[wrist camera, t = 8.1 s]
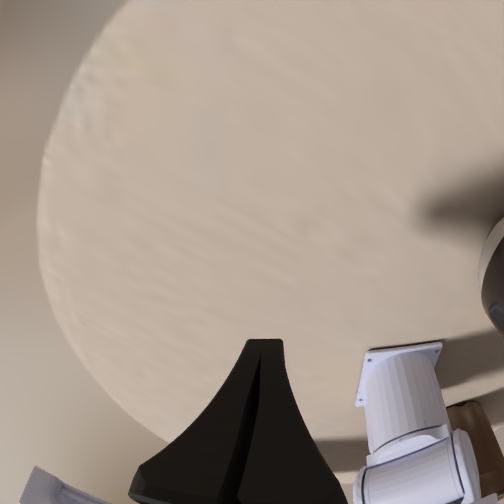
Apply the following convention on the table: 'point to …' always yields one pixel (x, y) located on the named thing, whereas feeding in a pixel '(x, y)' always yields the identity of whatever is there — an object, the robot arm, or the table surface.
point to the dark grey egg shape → (493, 276)
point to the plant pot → (481, 446)
